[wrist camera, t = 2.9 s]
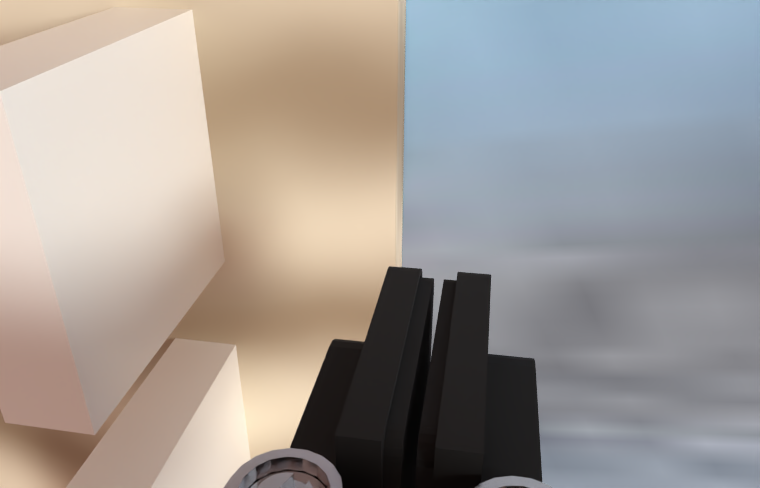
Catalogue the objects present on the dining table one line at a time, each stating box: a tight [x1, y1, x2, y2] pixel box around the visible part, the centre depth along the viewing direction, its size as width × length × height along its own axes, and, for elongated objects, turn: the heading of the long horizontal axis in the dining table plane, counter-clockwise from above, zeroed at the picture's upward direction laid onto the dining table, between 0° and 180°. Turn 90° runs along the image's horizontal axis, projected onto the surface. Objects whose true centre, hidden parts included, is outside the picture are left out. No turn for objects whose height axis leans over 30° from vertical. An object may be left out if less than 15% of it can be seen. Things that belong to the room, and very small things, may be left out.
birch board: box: [0, 0, 406, 488], centre depth 22 cm, size 24×20×1 cm
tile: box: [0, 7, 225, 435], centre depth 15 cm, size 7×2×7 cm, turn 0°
